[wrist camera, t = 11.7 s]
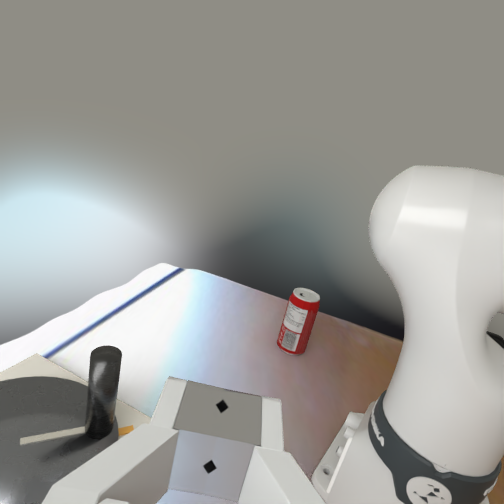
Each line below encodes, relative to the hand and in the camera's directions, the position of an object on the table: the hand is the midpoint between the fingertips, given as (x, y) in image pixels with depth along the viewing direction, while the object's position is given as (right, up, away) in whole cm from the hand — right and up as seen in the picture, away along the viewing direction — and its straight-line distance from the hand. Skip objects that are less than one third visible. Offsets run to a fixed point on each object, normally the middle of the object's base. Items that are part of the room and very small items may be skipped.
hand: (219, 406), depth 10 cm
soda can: (+8, -15, +61) cm, 63 cm away
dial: (-24, -17, +28) cm, 40 cm away
